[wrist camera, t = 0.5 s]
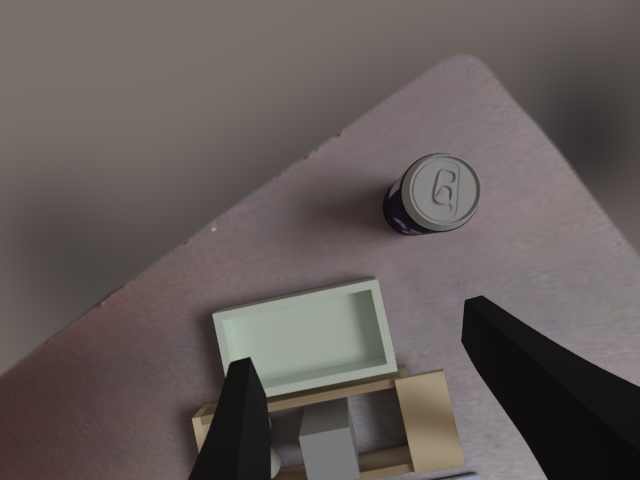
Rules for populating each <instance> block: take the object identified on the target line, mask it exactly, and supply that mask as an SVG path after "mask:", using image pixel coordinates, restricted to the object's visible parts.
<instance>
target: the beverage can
mask: <svg viewBox="0 0 640 480" xmlns="http://www.w3.org/2000/svg"><path fill="white" fill-rule="evenodd" d="M481 192H482V187H481V181H480V178H479V176H478V173H477V172H476V170H475V169H474V167H473V166H472V165H471V164H470V163H468V162H467V161H466V160H464V159H462V158H460V157H458V156H455V155H450V154H444V153H436V154H430V155H427V156H424V157H422V158H420V159H419V160H417V161H416V162H414V163H413V164H412V165H411V166H410V167H409V168H408V169H407V171H406V172H405V173H404V174H403V175H402V176H401V177H400V178H399V179H398V180H397V181H396V182H395V183H394V185H393V186H392V187H391V188H390V189H389V190H388V192H387V193H386V195H385V198H384V202H383V212H384V216H385V219H386V221H387V222H388V224H389V225H390V226H391V227H392V228H393V229H394V230H395V231H397V232H399V233H401V234H404V235H409V236H415V235H423V234H431V233H440V232H447V231H451V230H454V229H457V228H459V227H461V226H462V225H464V224H465V223H466V222H467V221H469V219H470V218H471V217H472V216H473V214H474V213H475V211H476V209H477V207H478V204H479V202H480V199H481Z"/></svg>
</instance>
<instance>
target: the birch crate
mask: <svg viewBox="0 0 640 480" xmlns="http://www.w3.org/2000/svg"><path fill="white" fill-rule="evenodd" d="M397 369H398V371H395V372H390V373H385V374H380V375H375V376H370V377H365V378H360V379H355V380H350V381H345V382H340V383H335V384H330V385H325V386H320V387H315V388H310V389H305V390H300V391H295V392H290V393H285V394H280V395H275V396H270V397H266V398H267V406H268V412H272V411H277V410H282V409H287V408H292V407H297V406H302V405H307V404H312V403H317V402H322V401H327V400H332V399H337V398H343V397H348V396H353V395H358V394H363V393H368V392H373V391H378V390H383V389H388V388H393V387H396V390H397V395H398V399H399V404H400V408H401V413H402V417H403V422H404V426H405V431H406V436H407V440H408V445H404V446H398V447H393V448H388V449H383V450H377V451H372V452H367V453H361V454H358V460H359V471H360V479H355V480H372V479H378V478H383V477H388V476H394V475H399V474H404V473H410V472H415V475H419V474H424V473H430V472H435V471H440V470H446V469H451V468H457V467H462V466H465V464H464V460H463V455H462V451H461V446H460V442H459V437H458V433H457V428H456V424H455V419H454V415H453V410H452V406H451V401H450V397H449V392H448V388H447V383H446V379H445V374H444V371H443V369H439V370H434V371H429V372H424V373H419V374H414V375H409V373H408V371H407V369H406V367H405V365H399V366H397ZM217 404H218V402H214V403H209V404H204V405H203V406H202V407H201V408H200V409H199V411H198V412H197V413H196V414H195V415H194V417H193V418H192V422H193V427H194V431H195V436H196V441H197V446H198V451H199V453H200V450H201V448H202V445H203V443H204V440H205V438H206V435H207V433H208V430H209V427H210V424H211V421H212V419H213V416H214V413H215V410H216V407H217ZM271 480H308V478H307V473H306V469H305V464H304V465H298V466H293V467H288V468H282V469H280V470H279V472H278V473H277V475H276V476H275V477H274V478H273V479H271Z"/></svg>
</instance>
